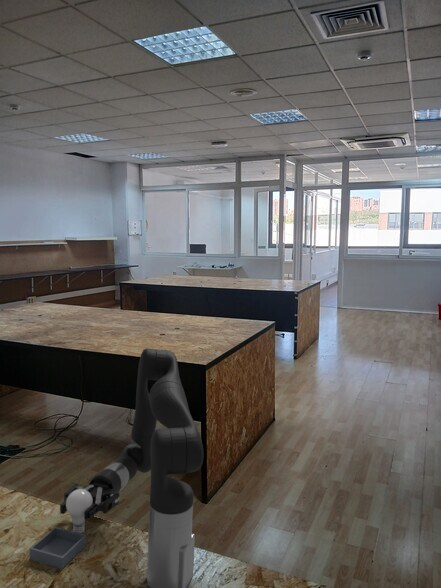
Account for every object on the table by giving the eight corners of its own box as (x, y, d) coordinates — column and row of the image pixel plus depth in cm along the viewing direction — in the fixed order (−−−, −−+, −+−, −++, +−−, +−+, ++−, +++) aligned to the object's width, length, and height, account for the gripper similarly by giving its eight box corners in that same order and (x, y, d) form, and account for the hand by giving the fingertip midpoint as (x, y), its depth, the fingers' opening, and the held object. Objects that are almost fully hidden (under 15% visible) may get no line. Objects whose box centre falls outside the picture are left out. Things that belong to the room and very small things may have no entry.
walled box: (86, 545, 106) (86, 535, 106) (62, 569, 98) (62, 557, 98) (54, 537, 109) (55, 526, 108) (29, 559, 100) (29, 548, 100)
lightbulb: (59, 535, 109) (60, 492, 108) (78, 522, 115) (79, 481, 114) (78, 544, 106) (79, 500, 106) (97, 530, 112) (98, 488, 111)
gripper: (88, 463, 126) (48, 492, 110) (133, 473, 121) (99, 504, 105) (87, 489, 126) (48, 521, 110) (132, 499, 122) (98, 534, 106)
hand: (73, 513), depth 108 cm, fingers closed on lightbulb, 6 cm apart
